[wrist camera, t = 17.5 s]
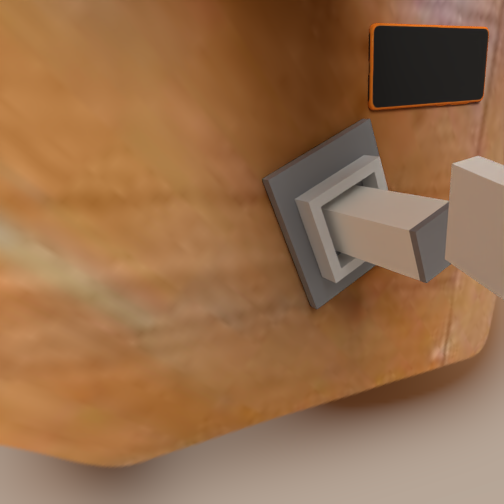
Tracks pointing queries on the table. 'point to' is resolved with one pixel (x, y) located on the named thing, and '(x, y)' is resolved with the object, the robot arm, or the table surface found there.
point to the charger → (390, 230)
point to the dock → (314, 197)
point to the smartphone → (425, 65)
